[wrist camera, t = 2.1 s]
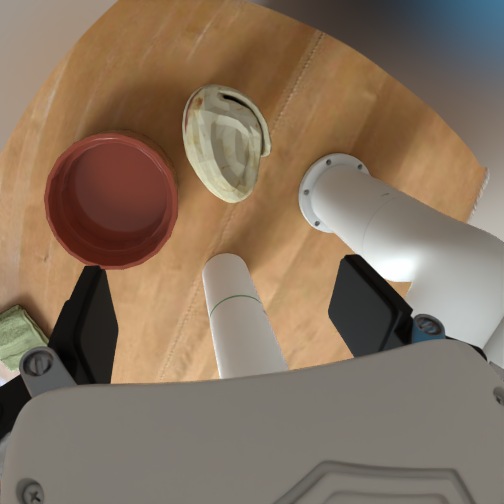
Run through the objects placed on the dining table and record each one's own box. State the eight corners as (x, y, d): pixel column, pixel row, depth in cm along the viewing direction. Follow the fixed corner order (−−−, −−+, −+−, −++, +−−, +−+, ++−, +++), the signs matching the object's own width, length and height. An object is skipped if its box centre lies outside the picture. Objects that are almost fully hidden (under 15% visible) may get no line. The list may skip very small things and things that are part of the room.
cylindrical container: (215, 298, 49) (248, 435, 27) (193, 267, 45) (214, 410, 24) (254, 279, 48) (310, 409, 27) (235, 245, 45) (288, 379, 23)
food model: (174, 97, 33) (165, 88, 16) (225, 85, 34) (268, 67, 16) (191, 167, 38) (201, 226, 21) (240, 155, 39) (291, 202, 21)
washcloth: (63, 349, 47) (60, 361, 44) (14, 365, 46) (11, 375, 43) (23, 299, 40) (16, 310, 37) (-22, 323, 39) (-28, 333, 37)
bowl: (181, 128, 35) (181, 132, 30) (177, 248, 43) (177, 269, 38) (58, 133, 31) (39, 140, 26) (68, 249, 39) (55, 269, 34)
